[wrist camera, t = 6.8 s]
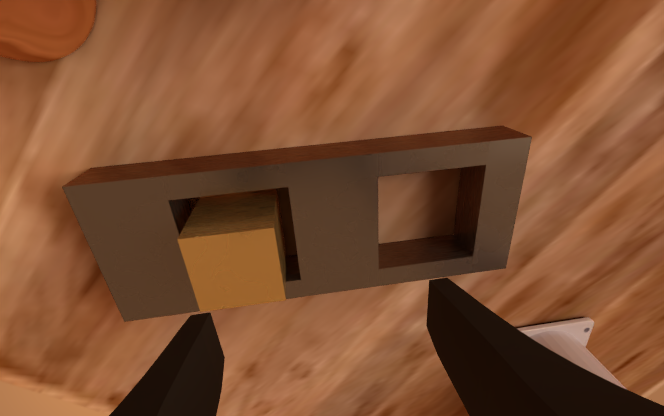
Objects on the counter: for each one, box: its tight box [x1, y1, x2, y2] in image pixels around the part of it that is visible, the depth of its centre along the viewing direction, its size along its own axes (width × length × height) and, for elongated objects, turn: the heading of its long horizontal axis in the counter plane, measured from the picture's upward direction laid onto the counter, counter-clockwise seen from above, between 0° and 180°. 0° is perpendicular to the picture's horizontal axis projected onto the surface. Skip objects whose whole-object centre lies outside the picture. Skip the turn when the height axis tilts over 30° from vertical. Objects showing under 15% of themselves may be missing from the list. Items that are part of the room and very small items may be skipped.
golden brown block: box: [177, 188, 286, 312], centre depth 17 cm, size 4×4×5 cm
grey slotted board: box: [62, 126, 532, 322], centre depth 19 cm, size 22×8×2 cm, turn 94°
